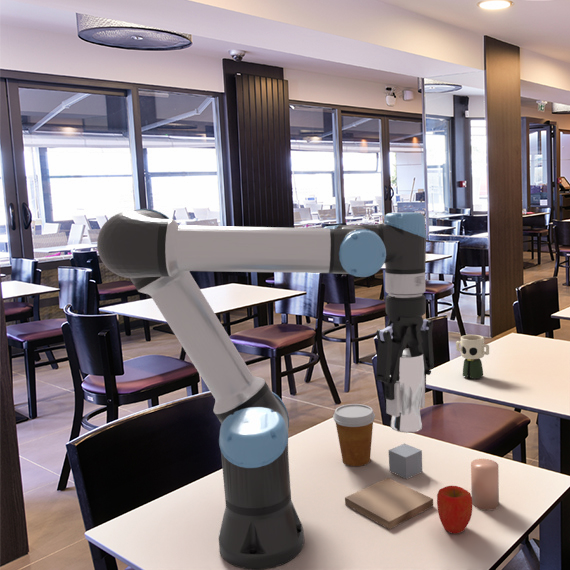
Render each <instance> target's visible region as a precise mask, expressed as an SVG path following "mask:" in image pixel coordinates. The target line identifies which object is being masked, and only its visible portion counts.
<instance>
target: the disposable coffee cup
mask: <svg viewBox="0 0 570 570" xmlns="http://www.w3.org/2000/svg"><path fill="white" fill-rule="evenodd" d="M332 418H333V420H334V422H335V427H336V432H337V439H338V442H339V448H340V449H339V450H340V454H341V458H342V459H341V460H342V463H343V464H345V465H347V466H349V467H362V466H365V464H366V465H368V464H369V463H370V462H371V450H372V441H373V439H372V438H373V430H374V429H373V428H374V422H375V419H376V414H375V413H374V409H373V408H372V407H371V406H369V405H368V404H367V405H366V404H360V403H350V404H343V405H340V406H338V407H336V408H335V410H334V414H333V415H332ZM369 461H370V462H369Z"/></svg>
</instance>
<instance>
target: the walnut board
mask: <svg viewBox="0 0 570 570" xmlns="http://www.w3.org/2000/svg"><path fill="white" fill-rule="evenodd" d="M344 501H345V502H344V503H345V504H344V505H345V506H347V507H349V508H351V509H352V510H354V511H356V512H358V513H360V514H361V515H362V516H364V517H367V518H369V519H370V520H372V521H374V522H375V523H377V524H379V525H381V526H382V527H384V528H385V529H388V530H391V529H393V528H395V527H397V526H399V525H400V524H403V523H404V522H407V521H408V520H410V519H412V518H414V517H415V516H418V515H420V514H421V513H424V512H425V511H426V510H428V509H430V508H432V507H434V498H432V497H431V496H428V495H426V494H424V493H421V492H419V491H417V490H415V489H413V488H411V487H409V486H406V485H404V484H403V483H401V482H398V481H396V480H394V479H392V478H389V477H386V478H384V479H382V480H380V481H378V482H376V483H374V484H371V485H369V486H367V487H365V488H363V489H361V490H359V491H357V492H354V493H352V494H349V495H348V496H346V497H344Z"/></svg>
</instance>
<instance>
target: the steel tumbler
mask: <svg viewBox="0 0 570 570" xmlns="http://www.w3.org/2000/svg"><path fill="white" fill-rule="evenodd" d="M390 377H391V375H390ZM396 383H399V388H400V416H399V417H395V416H392V415H391V420H390V428H391V429H392V430H393V431H396V432H398V433H404V434H407V433H410V434H411V433H417V432H419V431H421V430H422V428H423V424H422V418H421V407H420V404H421V398H422V393H423V387H424V358H423V352H422V351H420V355H419V356H416V357H412V356H411V354H410V350H409V348H405V349H404V350H403V354H402V357H400V366H399V371H398V376H397V380H396Z"/></svg>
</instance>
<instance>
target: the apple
mask: <svg viewBox="0 0 570 570" xmlns="http://www.w3.org/2000/svg"><path fill="white" fill-rule="evenodd" d="M436 498H437V500H436V506H437V513H438V517H439V520H440V523H441V525H442V527H443V528H444V530H445V531H446V532H449V533H451V534H460V533H462V532H464V531H465V530H466V528H467V526H468V524H469V523H470V521H471V518H472V514H473V505H472V494H471V493H470V492H469V491H468V490H467V489H465V488H463V487H460V486H457V485H447V486H444V487H442V488H439V490H438V492H437V495H436Z"/></svg>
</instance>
